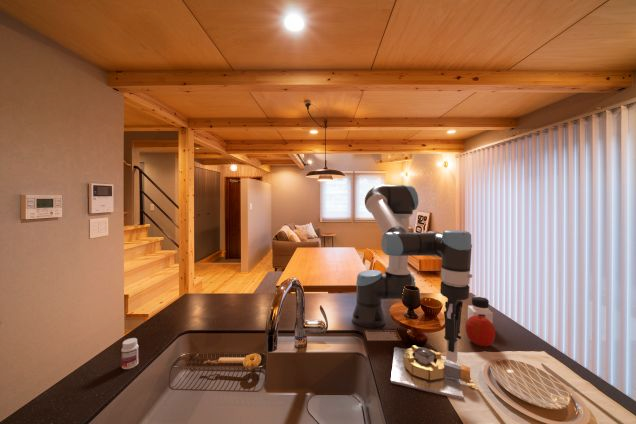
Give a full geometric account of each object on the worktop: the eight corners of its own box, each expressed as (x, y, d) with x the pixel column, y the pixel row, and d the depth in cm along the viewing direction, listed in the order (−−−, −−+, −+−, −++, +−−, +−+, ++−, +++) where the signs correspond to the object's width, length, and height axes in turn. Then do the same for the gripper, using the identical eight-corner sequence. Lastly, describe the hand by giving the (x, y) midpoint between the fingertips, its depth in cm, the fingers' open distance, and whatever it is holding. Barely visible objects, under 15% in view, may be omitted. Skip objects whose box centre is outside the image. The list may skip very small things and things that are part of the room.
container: (492, 330, 114) (493, 301, 113) (473, 328, 115) (474, 300, 115) (485, 322, 121) (485, 295, 121) (467, 321, 123) (467, 294, 122)
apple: (459, 338, 106) (460, 311, 106) (479, 336, 109) (480, 309, 108) (479, 352, 96) (480, 322, 96) (501, 349, 99) (502, 319, 98)
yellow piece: (400, 370, 83) (400, 358, 83) (408, 352, 94) (409, 341, 94) (469, 393, 73) (469, 380, 73) (470, 370, 84) (470, 358, 84)
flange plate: (394, 348, 98) (394, 331, 98) (452, 359, 91) (453, 341, 91) (390, 382, 79) (391, 361, 79) (463, 399, 73) (464, 376, 72)
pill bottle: (127, 361, 89) (127, 337, 89) (141, 360, 89) (141, 337, 89) (117, 370, 84) (117, 345, 84) (133, 369, 85) (132, 344, 85)
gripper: (464, 292, 68) (461, 377, 69) (473, 280, 78) (469, 354, 79) (435, 285, 73) (432, 365, 74) (446, 275, 83) (443, 345, 84)
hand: (451, 359), depth 77 cm, fingers closed
